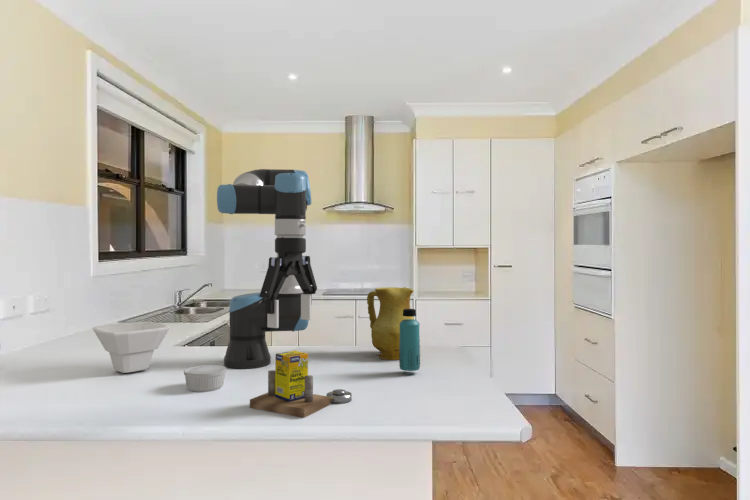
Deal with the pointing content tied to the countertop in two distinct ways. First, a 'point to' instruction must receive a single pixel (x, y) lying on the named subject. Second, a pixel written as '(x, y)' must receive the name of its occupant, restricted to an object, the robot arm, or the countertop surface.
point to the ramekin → (205, 377)
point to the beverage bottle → (409, 342)
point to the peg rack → (294, 407)
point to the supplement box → (290, 375)
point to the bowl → (131, 343)
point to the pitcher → (388, 319)
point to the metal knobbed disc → (339, 396)
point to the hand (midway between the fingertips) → (290, 323)
